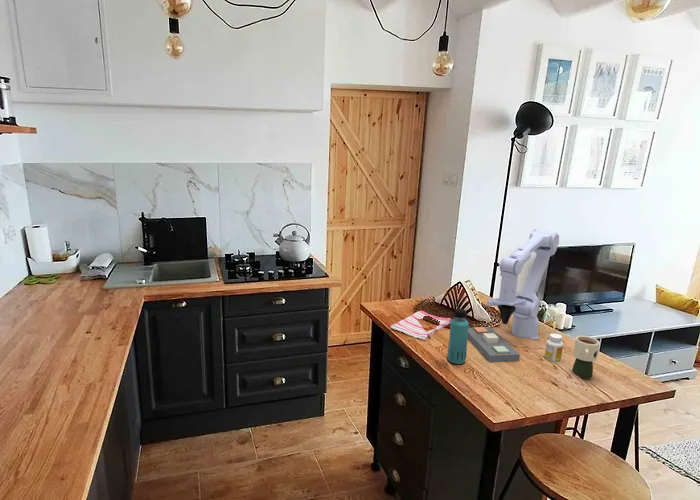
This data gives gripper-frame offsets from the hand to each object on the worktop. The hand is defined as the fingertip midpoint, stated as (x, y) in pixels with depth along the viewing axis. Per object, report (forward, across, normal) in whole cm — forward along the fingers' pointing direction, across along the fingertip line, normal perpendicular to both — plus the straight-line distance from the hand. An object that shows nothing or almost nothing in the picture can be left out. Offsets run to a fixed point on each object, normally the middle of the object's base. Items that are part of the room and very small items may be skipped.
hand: (504, 323), depth 170 cm
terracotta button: (+8, -6, +7) cm, 12 cm away
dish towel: (+10, -26, +20) cm, 34 cm away
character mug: (+10, +17, -24) cm, 31 cm away
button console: (+9, -6, -2) cm, 11 cm away
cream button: (+7, -6, -2) cm, 9 cm away
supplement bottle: (+10, +13, -13) cm, 21 cm away
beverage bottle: (+10, -23, -12) cm, 28 cm away
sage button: (+8, -6, -10) cm, 15 cm away
